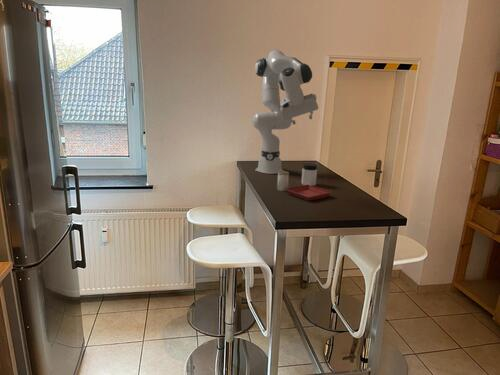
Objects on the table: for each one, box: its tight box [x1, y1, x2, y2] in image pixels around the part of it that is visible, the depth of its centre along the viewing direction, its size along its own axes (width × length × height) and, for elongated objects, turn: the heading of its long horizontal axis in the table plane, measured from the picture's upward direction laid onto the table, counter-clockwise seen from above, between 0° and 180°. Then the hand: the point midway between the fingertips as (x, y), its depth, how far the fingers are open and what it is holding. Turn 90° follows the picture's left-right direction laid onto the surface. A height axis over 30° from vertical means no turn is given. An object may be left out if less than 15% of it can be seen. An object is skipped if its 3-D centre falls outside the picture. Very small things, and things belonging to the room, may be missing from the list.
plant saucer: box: [285, 184, 332, 201], centre depth 209 cm, size 18×18×3 cm
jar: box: [300, 162, 318, 186], centre depth 231 cm, size 9×8×12 cm
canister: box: [276, 170, 290, 192], centre depth 217 cm, size 6×6×10 cm
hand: (302, 121), depth 214 cm, fingers open, 8 cm apart
